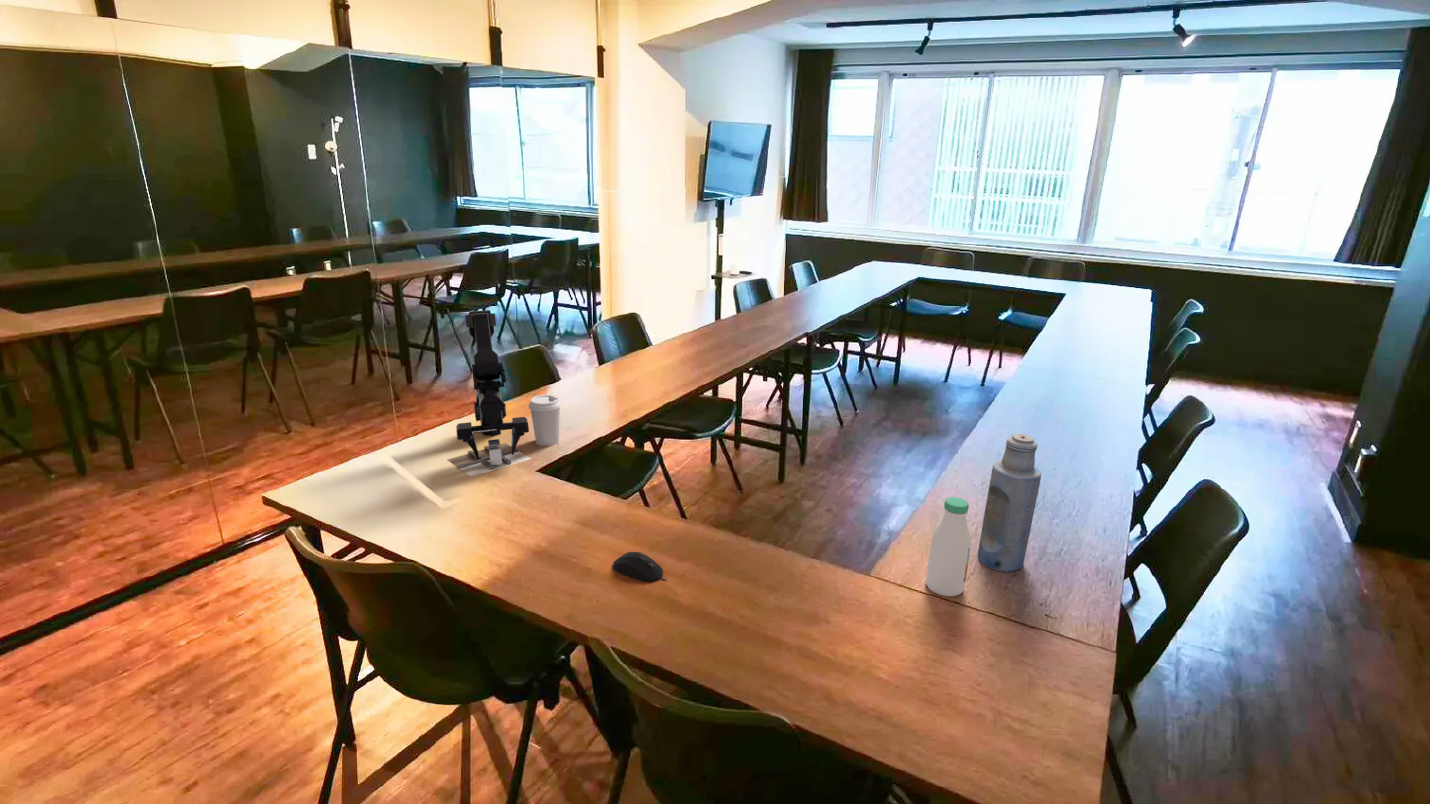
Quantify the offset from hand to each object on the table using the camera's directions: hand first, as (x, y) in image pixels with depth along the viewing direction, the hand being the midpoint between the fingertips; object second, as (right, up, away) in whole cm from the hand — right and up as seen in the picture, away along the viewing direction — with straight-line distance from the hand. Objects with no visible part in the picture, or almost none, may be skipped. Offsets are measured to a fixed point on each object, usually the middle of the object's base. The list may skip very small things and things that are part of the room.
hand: (495, 456), depth 198 cm
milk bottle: (+109, -24, -49) cm, 122 cm away
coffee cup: (+11, +2, +17) cm, 20 cm away
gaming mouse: (+46, -22, -45) cm, 68 cm away
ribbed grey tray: (-3, -2, +4) cm, 5 cm away
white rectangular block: (0, -1, 0) cm, 1 cm away
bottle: (+125, -21, -39) cm, 132 cm away
